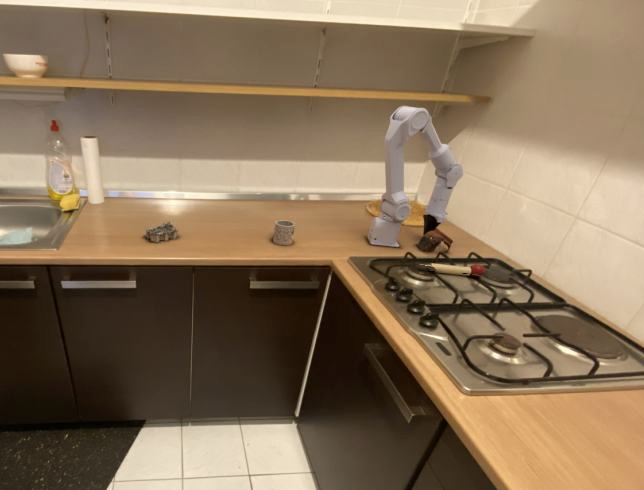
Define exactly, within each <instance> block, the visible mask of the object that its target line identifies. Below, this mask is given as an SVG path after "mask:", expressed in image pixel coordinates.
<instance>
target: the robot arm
mask: <svg viewBox="0 0 644 490" xmlns="http://www.w3.org/2000/svg"><path fill="white" fill-rule="evenodd" d="M432 121H433V117H432V116H431V115H430V113H429V110H428V109H427V108H426V107H425V108H424V107H414V106H408V105H401V106H399V107H398V108H396V110H394V112H393V113H392V114H391V115H390V117H389V126H388V129H387V131H386V134H385V136H384V142H383V143H384V144H383V145H384V170H385V171H384V173H385V174H384V175H385V192H384V193H383V194H382V195H381V200H380V203H379V212H380V216H374V217H372V219H371V222H370V227H369V231H368V235H367V236H366V237H367V239H368V241H369V244H371V245H374V246H382V247H383V246H384V247H393V248H400V244H399V243H398V242H397V241H398V238H399V235H400V233H401V232H400V231H401V228H402V225H403V223H404V222H405V220H407V219H408V218H409V217H410V215H411V213H412V207H411V205H410V201H409V197H408V196H407V194H406V192H405V143H406V142H407V141H408V140H409V139H411V138H412V137H413V136H415V135H416V134H418V135H419V136H420V138H421V139H422V141H423V143H424V144H425V146H426V147H427V148H428V149H429V151H428V155H427V156H428V158H429V160H430V162H431V163H432V165H433V167H434V168H435V170H434V175H435V176H436V181H435V183H434V186H433V188H432V192H431V194H430V198H429V200H428V204H426V205H425V207H424V212H425V213H426V214H423V215H422V218H423V230H422V231H423V232H422V233H423V234H422V235H423V236H424V235H425V234H426V233H427V232H429V231H434V230H435V229H436V228H437V229H438V226H440V224H445V220H446V215H448V214H449V212H448V211H447V207H448V204H449V201H450V199H451V196H452V193H453V191H454V188H455V187H456V186H457V184H458V182H459V181H460V180H461V179H462V177H463V176H464V174H465V173H464V169H463V166H462V165H461V164H460V163H458V162H457V158H456V157H454V155H453V153H452V151H451V149H452V147H451V146H450V145H448V144H447V143H442V142H441V140H440V137H439V136H438V133H437V131H436V129H435V126H434V124H433V122H432Z"/></svg>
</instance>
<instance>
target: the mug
mask: <svg viewBox="0 0 644 490" xmlns="http://www.w3.org/2000/svg"><path fill="white" fill-rule="evenodd" d="M295 226H296V223H295V222H294V221H292V220H287V219H279V220H276V221H275V223H274V229H273V230H274V231H273V238H272V242H273V243H275V244H277V245H281V246H288V245H289V246H290V245H291V244H292V243H293V240H294V232H295Z"/></svg>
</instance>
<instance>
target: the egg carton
mask: <svg viewBox="0 0 644 490" xmlns="http://www.w3.org/2000/svg"><path fill="white" fill-rule="evenodd" d="M144 231H145V234H146V235H145V238H146V239H150V242H153V243H154V242H155V243H159V242H160V241H168V240H169V239H173V240H175V239H177V237H178V232H179V231H180V230H179V228H176V227H174V225H173V224H172V222H171V221H166V222H163V223H162V224H161V225H157V226H154V227H150V228H149V229H148V228H145V229H144Z"/></svg>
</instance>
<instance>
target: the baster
mask: <svg viewBox="0 0 644 490" xmlns="http://www.w3.org/2000/svg"><path fill="white" fill-rule="evenodd" d="M419 265H422V264H419ZM424 265H425V266H431V267H434V268H435V269H436V270H437V271H435V272H434V273H437V274H448V275H456V276H464V277H465V276H467V277H469V276H471V277H473V278H481V276H475V275H472V274H478V275H481V274H483V275H484V274H485V272H486V269H485V266H483V265H482V264H480V263H474V264H472V265H470V266H460V265H451V264H441V263H432V262H431V263H429V264H424ZM462 273H469V274H462Z"/></svg>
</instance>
